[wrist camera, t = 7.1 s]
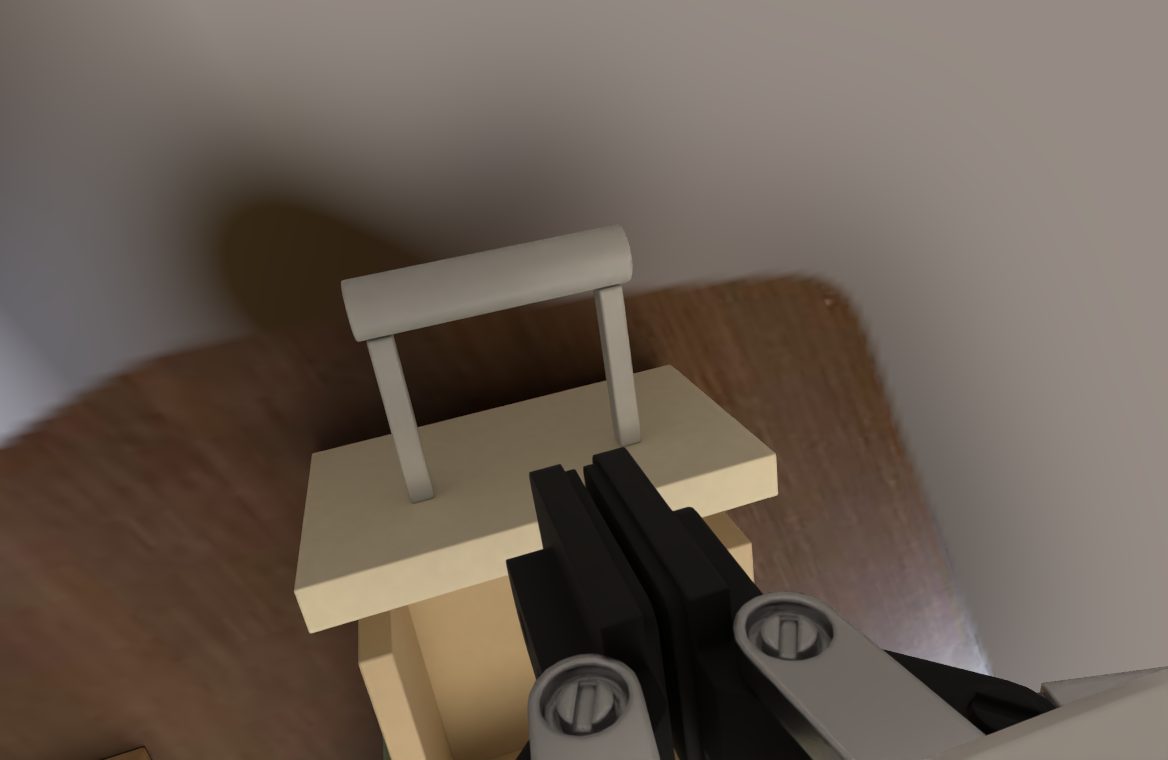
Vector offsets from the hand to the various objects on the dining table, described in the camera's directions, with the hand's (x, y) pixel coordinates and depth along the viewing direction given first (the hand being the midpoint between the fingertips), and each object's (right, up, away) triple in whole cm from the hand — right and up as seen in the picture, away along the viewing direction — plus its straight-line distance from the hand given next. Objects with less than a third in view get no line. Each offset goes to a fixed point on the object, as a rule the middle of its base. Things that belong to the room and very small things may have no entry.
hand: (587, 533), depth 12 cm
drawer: (-2, -2, +12) cm, 12 cm away
